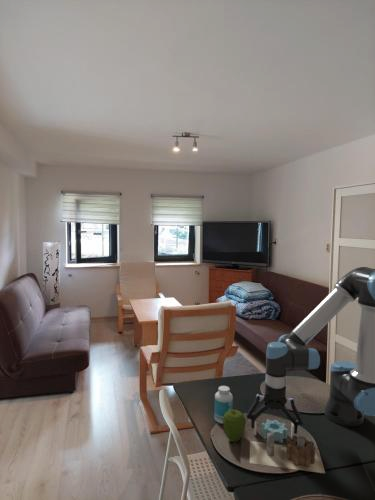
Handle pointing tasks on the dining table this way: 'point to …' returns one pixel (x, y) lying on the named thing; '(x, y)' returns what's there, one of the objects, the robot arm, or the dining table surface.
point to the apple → (234, 424)
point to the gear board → (281, 455)
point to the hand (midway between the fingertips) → (273, 438)
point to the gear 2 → (300, 452)
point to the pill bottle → (222, 403)
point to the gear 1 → (274, 430)
